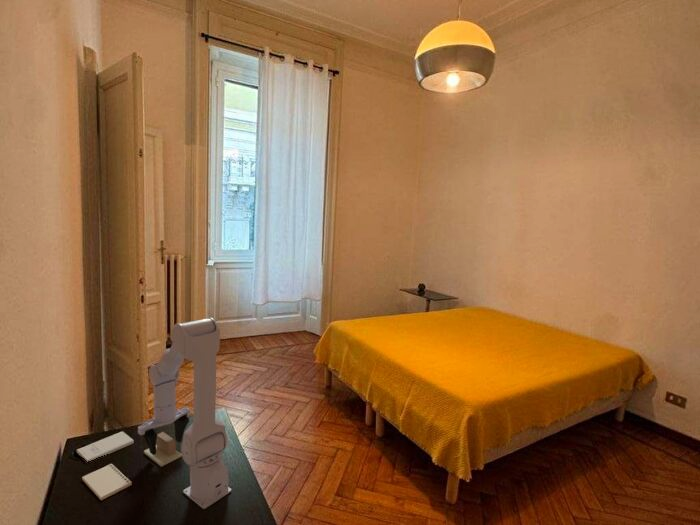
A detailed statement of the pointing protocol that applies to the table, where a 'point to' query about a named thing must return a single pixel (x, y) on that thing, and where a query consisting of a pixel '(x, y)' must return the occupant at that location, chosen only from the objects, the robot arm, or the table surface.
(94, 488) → the board
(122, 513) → the table surface
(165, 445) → the stub
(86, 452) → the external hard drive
